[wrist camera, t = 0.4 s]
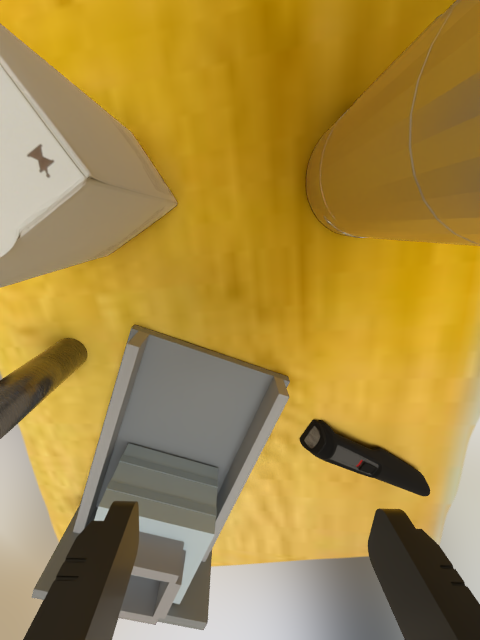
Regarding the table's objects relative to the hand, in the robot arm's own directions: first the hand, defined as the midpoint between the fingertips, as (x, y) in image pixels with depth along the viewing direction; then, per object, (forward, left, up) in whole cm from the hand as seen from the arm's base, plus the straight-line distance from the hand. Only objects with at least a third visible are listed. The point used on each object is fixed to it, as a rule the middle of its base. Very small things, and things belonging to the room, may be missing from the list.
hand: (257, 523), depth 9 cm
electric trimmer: (+9, +18, -19) cm, 28 cm away
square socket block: (+21, -2, -17) cm, 27 cm away
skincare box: (-7, -14, -19) cm, 24 cm away
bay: (+15, -2, -19) cm, 24 cm away
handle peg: (+8, -15, -19) cm, 25 cm away
